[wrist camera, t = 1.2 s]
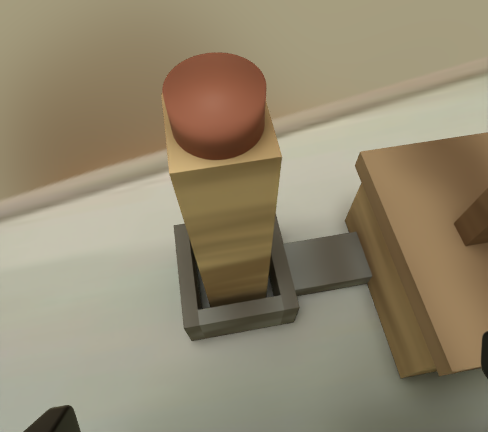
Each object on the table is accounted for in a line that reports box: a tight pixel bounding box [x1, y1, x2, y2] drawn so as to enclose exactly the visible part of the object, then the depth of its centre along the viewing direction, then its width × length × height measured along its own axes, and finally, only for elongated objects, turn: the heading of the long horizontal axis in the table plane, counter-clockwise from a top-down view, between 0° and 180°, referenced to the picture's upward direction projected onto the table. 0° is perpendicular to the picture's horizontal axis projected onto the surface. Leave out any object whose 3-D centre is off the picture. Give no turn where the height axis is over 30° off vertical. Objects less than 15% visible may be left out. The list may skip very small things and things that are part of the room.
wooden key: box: [161, 53, 282, 308], centre depth 17 cm, size 3×3×15 cm
